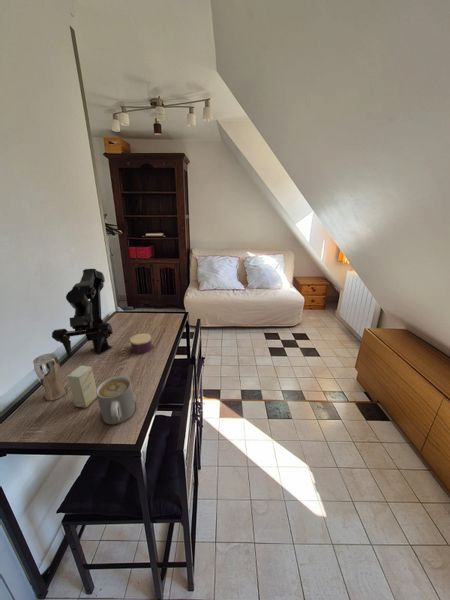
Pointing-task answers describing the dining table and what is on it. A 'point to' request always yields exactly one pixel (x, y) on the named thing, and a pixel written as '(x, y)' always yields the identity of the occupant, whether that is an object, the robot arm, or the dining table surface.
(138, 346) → the jar
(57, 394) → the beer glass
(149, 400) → the dining table surface
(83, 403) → the cosmetic box
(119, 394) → the coffee mug
